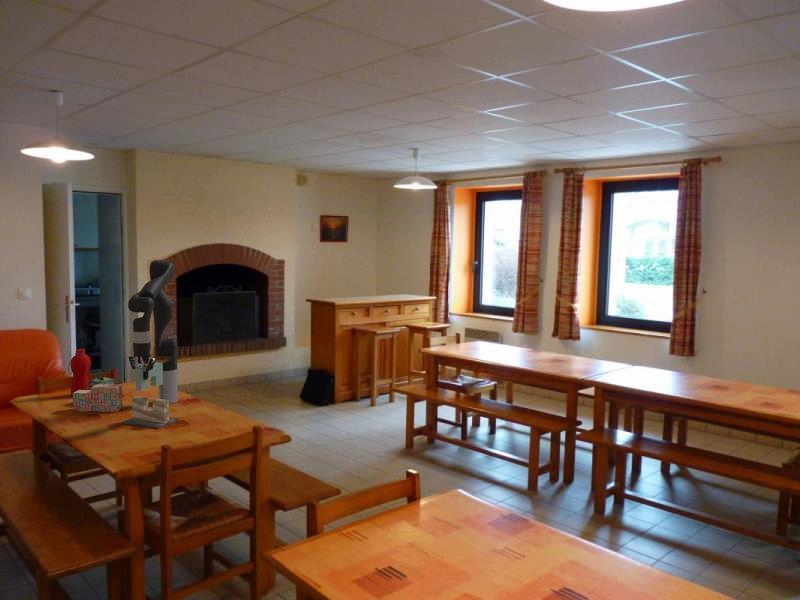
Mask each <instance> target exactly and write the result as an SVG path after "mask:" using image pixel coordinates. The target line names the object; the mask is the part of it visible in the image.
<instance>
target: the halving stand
mask: <svg viewBox="0 0 800 600" xmlns="http://www.w3.org/2000/svg"><path fill="white" fill-rule="evenodd" d="M131 403H132V406H131V407H132V417H131V418H129V419H127V420H123V421H121V424H122V425H126V424H127V425H128V426H133V425H135V427H140V426H143V428H148V427H149V428H148V429H155V428H156V430H160V429H161V427H162V428H164V427H166V425H167V426H169V425H172V424H174V423H177V422H179V421H180V418H177V417H170V404H169V400H164V399H159V398H155V399H152V408H149V397H145V396H140V395H139V396H138V395H137V396H133V397H131ZM176 421H177V422H176ZM171 423H172V424H171ZM163 426H164V427H163Z"/></svg>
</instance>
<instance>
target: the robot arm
mask: <svg viewBox="0 0 800 600" xmlns="http://www.w3.org/2000/svg"><path fill="white" fill-rule="evenodd" d="M148 271H149V279H150V280H149V281H147V282H146V283H145V284H144V285H143V287H142V288H141V289H140V291H138V292H136V293H134V294H133V295H132V296H131V297H130V299H129V300H128V302H127V308H128V310H129V311H130V312H131V313H142V314H143V315H142V316H141V317H136V318H134V319H133V320H132V352H133V355H131V356H128V361H129V363H130V364H129V365H130V366H131V369H132V370H135V368H138V367H143V371H144V372H143V379H144V380H147V379H148V380H149V378H150V377H149V370H152V369H153V366H154V364H155V363H156V362H157V361H156V360H157V358H156V357H152V355H151V351H152V335H151V319H152V315H153V322H154V323H153V325H154V353H155V355H156V356H157V357H170V358H169V359H168V360H166V361H163V362H162V363H163V384H162V385H159V386H158V399H164V400H169V405H171V404H176V403H178V401H179V400H178V399H179V397H178V396H179V389H178V386H179V385H178V383H179V382H178V380H179V379H178V351H179V350H178V346H179V345H178V344H179V343H178V339H176V338H169V337H168V338H162V336H163V334H164V332H165V330H166V328H167V327H168V325H169V324H170V322H171V321H172V319H173V316H174V311H173V310H174V307H173V302H172V300H171V298H170V297H169V296H168V295H167V293H166V291H165V290H164V288H165V287H166V286H167V285H168V284H169V283H170V282H171V281H172V280H173V279H174V277H175V275H176V267H175V264H174V263H173V262H172V261H171V262H170V261H162V260H161V261H160V260H153V261H151V262H150V264H149V270H148ZM148 377H149V378H148Z"/></svg>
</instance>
